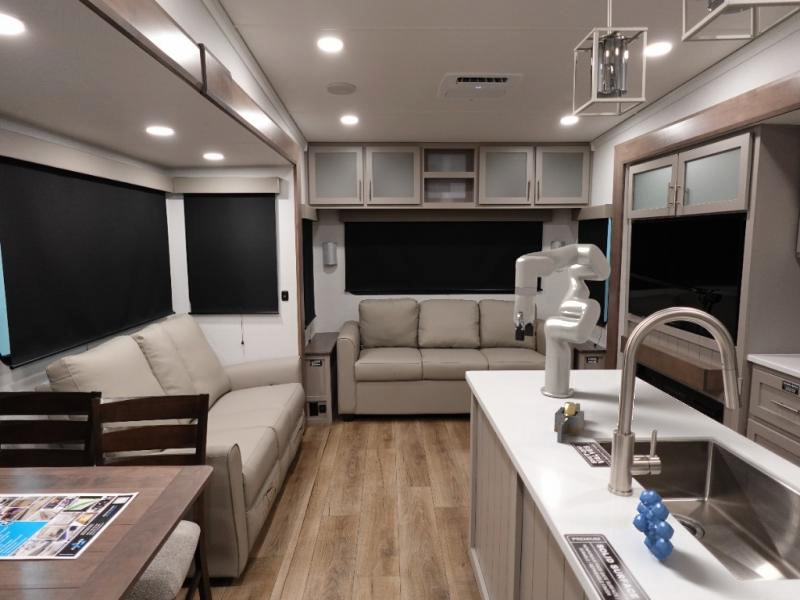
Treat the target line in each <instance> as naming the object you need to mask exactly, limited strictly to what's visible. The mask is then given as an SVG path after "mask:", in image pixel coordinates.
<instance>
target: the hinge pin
mask: <svg viewBox="0 0 800 600" xmlns="http://www.w3.org/2000/svg"><path fill="white" fill-rule="evenodd" d="M575 404H576V403H575V402H573V401H565V402H564V407H565V412H564V414H568V415H573V416H575Z"/></svg>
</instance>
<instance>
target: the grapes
mask: <svg viewBox="0 0 800 600" xmlns="http://www.w3.org/2000/svg"><path fill="white" fill-rule="evenodd" d="M638 499H639V503H638V505H637V507H636V511H637V512H638V514H636V515H635V517H634V518H633V521H632V524H633V526H634V527H635V528H636V530H638V531H639V532H640V533H643V534H644V536H645V538H644V541H643V544H644V545H645V546H646V548H647V549H648V550H649V551H650V552H651V553H652V555H653V556H654V557H655V558H656V559H657V560H659V561H661V562H663V561H665V560H666V559H667V557H669V556H671V555H672V554H673V551H674V547H675V546H674V544H673V543H672V542H671V541H670V540H671V539H672V538H673V536H674V533H675V529H674V528H673V526H672V525H671V524H670V523H669V522H667V521H666V520H667V519H668V517H669V515H670V512H671V511H670V510H669V509H668V507H667V506H666V505H665V504H664V503H663V499H662V497H661V496H660V494H659V493H658V492H656V491H655V490H651V489H650V490H648V489H644V490H643V491H641V493H640V495H639V498H638Z"/></svg>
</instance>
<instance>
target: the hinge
mask: <svg viewBox="0 0 800 600" xmlns="http://www.w3.org/2000/svg"><path fill="white" fill-rule="evenodd" d="M564 412H565V406H560V407H559V409H558V410H557V411H555V413H554V424H553V425H554V427H553V428H554V430H553V431H554V432H555V431H556V433H557V435H556V436H557V437H556V438H557V439H556V442H557V443H559V444H562V443H563V441H564V440H565V439H566V437H567V436H568V435H570V436H573V437H579V436H580V435H581V433H582V432H583V430H585V429H584V428H585V411H584V410H581V403H579V402H576V403H575V416H573V415H568V414H564Z"/></svg>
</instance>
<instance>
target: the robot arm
mask: <svg viewBox="0 0 800 600" xmlns="http://www.w3.org/2000/svg"><path fill="white" fill-rule="evenodd" d="M565 269H567V278H568V283H569V284H568V286H569V287H568V289H567V292H566V293H565V295H564V297H563V298H562V300H561V302H560V304H559V306H558V309H557V310H558V315H554V316H553V315H552V316H550V317H548V318H547V319H546V320H545V322H544V325H543V326H544V327H543V330H544V331H543V332H544V337H545V365H544V366H545V369H544V386H542V387H540V393H541V394H543V395H545V396H547V397H552V398H555V399H556V398H560V399H566V398H570V397H572V396H573V395H574V391H573V390H572V389H570V381H571V380H570V379H571V378H570V377H571V358H572V357H571V355H572V353H571V348H570V345H569V343H573V344H584V343H586V342H587V341H588V340H589V338H590V336H591V334H592V332H593V331H594V328H595V326H596V325H597V323H598V321H599V319H600V316H601V305H600V303H599V302H598V301H597V300H596V299H593V298H589V297H590V290H589V287H588V286H587V284H586V283H585V280H586V281H605V280H607V279H608V278H609V277H610V275H611V270H612V269H611V265H610V262H609V261H608V259H607V257H606V256H605V254H604V253H603V251H602V250H601V249H600V248H599V247H598V246H597V245H596V244H593V243H572V244H571V243H570V244H568V245H564V246H561V247H558V248H554V249H548V250H542V251H537V252H536V251H535V252H532V253H531V252H530V253H526V254H523V255H521V256H520V257H518V258H517V259H516V261H515V282H514V283H515V289H514V296H515V300H514V306H513V307H514V309H513V323H515V324H514V326H515V334H514V338H515V341H517V342H519V341H520V342H525V337H532V338H533V336H534V325H535V323H534V320H535V314H536V302H535V301H536V298H535V297H537V296H538V295H537V291H538V289H537V288H538V278H547V277H551V276H552V275H553V274H554V272H555V271H563V270H565Z"/></svg>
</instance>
